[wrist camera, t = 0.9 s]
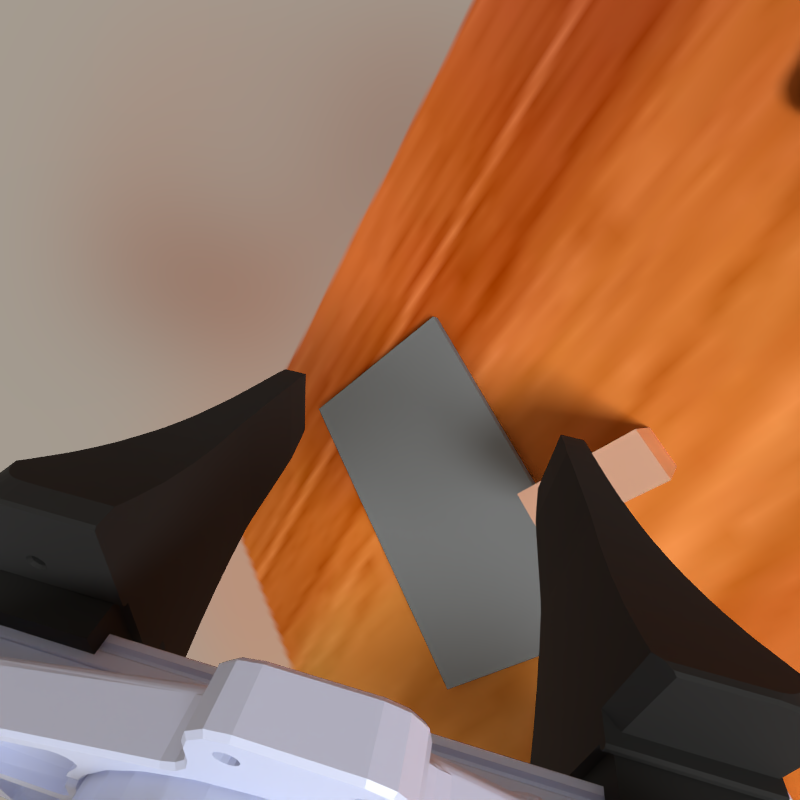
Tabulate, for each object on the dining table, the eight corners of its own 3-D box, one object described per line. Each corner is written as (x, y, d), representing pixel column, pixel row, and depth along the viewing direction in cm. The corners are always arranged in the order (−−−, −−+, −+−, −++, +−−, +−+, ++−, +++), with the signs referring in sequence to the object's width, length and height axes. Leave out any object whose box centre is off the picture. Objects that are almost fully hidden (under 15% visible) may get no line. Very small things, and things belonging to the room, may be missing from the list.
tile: (676, 465, 21) (671, 480, 16) (577, 515, 23) (544, 541, 18) (649, 427, 22) (635, 428, 17) (554, 478, 24) (517, 493, 19)
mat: (617, 623, 22) (616, 627, 22) (451, 685, 26) (447, 689, 26) (437, 318, 28) (433, 316, 27) (324, 409, 32) (319, 409, 32)
